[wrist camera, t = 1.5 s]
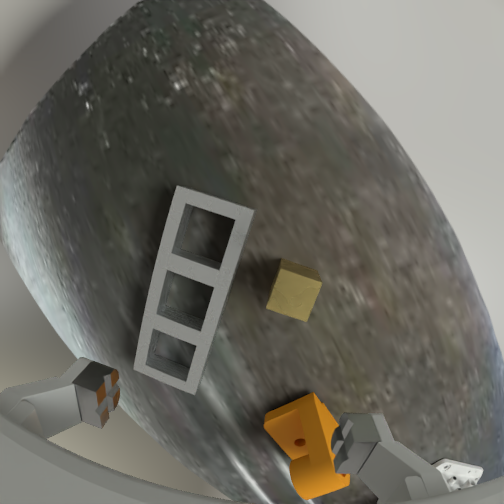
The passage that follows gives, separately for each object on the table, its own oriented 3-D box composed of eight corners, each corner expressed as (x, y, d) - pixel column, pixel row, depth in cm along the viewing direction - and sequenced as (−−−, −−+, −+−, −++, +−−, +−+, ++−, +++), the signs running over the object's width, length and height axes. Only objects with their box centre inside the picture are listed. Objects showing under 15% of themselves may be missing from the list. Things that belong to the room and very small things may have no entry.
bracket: (262, 411, 36) (252, 479, 24) (313, 388, 35) (320, 456, 23) (301, 457, 37) (302, 521, 25) (347, 438, 36) (360, 502, 24)
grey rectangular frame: (257, 209, 32) (254, 210, 29) (201, 382, 36) (194, 395, 33) (186, 186, 33) (176, 185, 30) (143, 358, 37) (133, 369, 34)
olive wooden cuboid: (317, 270, 33) (322, 282, 28) (304, 304, 33) (306, 321, 28) (281, 258, 33) (280, 268, 28) (269, 292, 33) (266, 308, 29)
